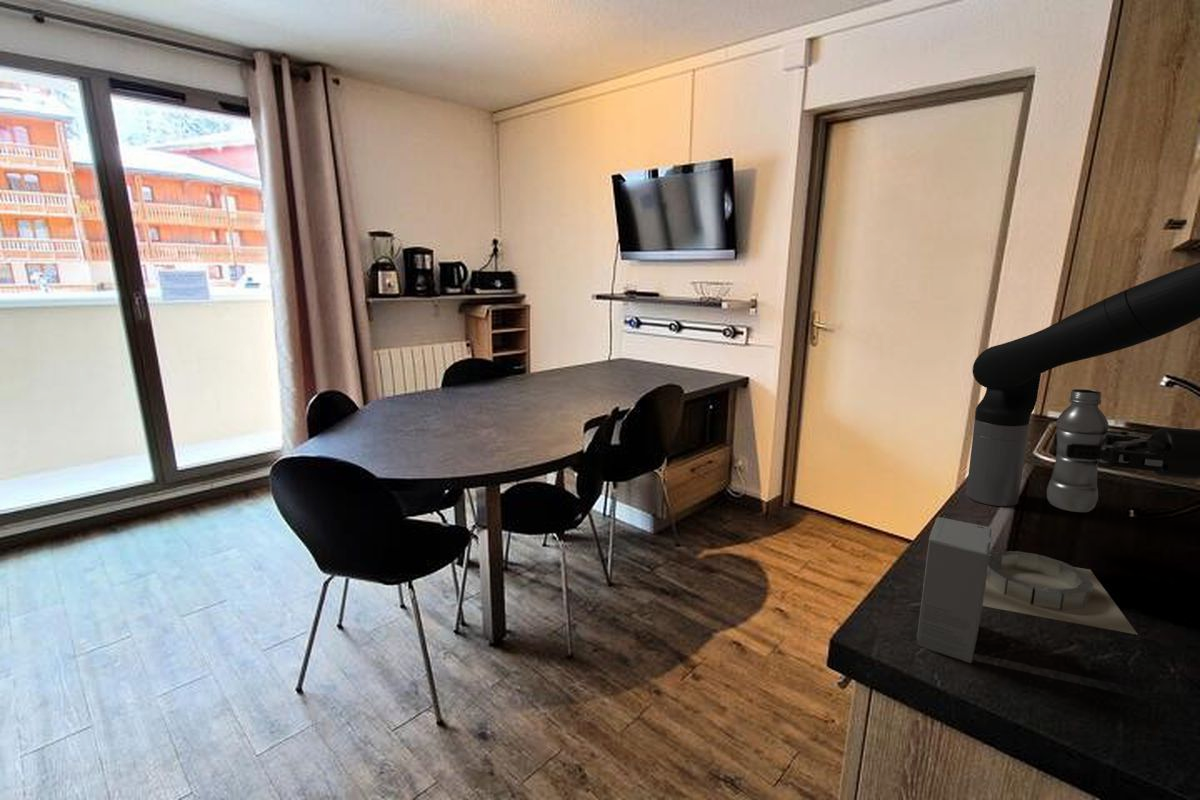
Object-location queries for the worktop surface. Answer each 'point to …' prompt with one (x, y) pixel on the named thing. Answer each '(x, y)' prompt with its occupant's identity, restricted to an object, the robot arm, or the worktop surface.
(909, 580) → the worktop surface
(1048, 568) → the steel collar
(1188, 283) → the robot arm
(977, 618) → the skincare box
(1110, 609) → the birch board
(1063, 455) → the plastic bottle
